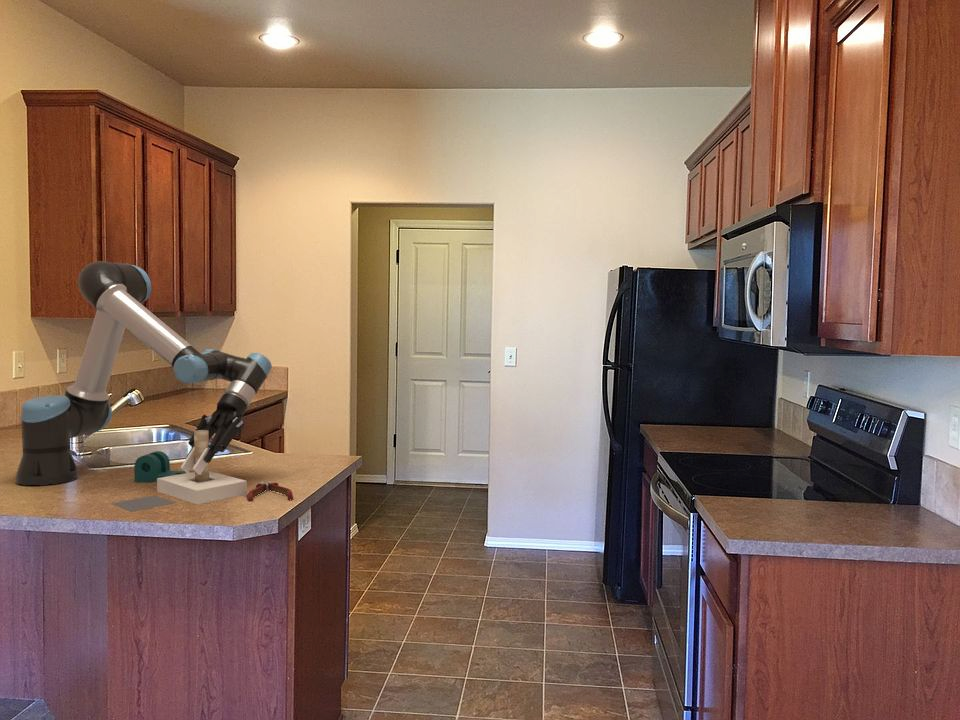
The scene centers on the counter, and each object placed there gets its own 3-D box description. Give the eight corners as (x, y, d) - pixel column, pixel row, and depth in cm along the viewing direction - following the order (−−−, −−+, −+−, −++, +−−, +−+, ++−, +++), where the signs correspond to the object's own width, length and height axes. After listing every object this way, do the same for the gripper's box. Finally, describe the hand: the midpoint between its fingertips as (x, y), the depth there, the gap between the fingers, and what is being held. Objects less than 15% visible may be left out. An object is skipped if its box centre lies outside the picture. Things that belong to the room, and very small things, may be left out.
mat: (110, 505, 176) (110, 503, 176) (154, 497, 185) (154, 495, 185) (132, 513, 169) (131, 511, 169) (176, 504, 178) (176, 502, 178)
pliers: (286, 484, 202) (286, 475, 202) (293, 502, 184) (293, 492, 184) (243, 487, 198) (243, 478, 198) (247, 506, 180) (247, 495, 179)
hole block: (157, 493, 189) (157, 478, 189) (205, 483, 200) (205, 469, 199) (197, 506, 176) (197, 490, 176) (246, 495, 187) (246, 480, 187)
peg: (192, 483, 188) (191, 431, 187) (204, 481, 190) (204, 429, 189) (199, 485, 185) (198, 432, 185) (211, 483, 188) (211, 431, 187)
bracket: (134, 482, 201) (134, 455, 200) (147, 477, 208) (147, 450, 207) (195, 485, 199) (195, 457, 199) (206, 479, 206) (206, 452, 205)
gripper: (265, 410, 197) (222, 482, 183) (220, 407, 204) (175, 475, 190) (252, 393, 192) (207, 465, 178) (205, 390, 199) (158, 459, 185)
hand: (190, 470), depth 184 cm, fingers closed on peg, 3 cm apart
